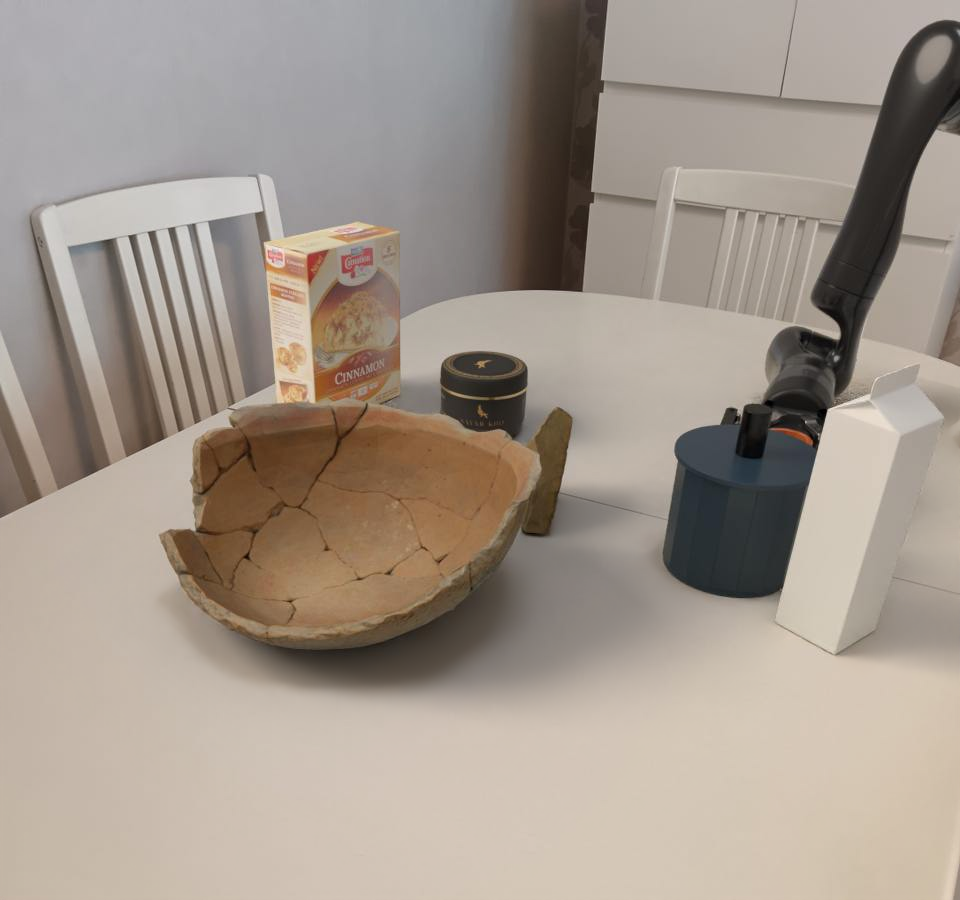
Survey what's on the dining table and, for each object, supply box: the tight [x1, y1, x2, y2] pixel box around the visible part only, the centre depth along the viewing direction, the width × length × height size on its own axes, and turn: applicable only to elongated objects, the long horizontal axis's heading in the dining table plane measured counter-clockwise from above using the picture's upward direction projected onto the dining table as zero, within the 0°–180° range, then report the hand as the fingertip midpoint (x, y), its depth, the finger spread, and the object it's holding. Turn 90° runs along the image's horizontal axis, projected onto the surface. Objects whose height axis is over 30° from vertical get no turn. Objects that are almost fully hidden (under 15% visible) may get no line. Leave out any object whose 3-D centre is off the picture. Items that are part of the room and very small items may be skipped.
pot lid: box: [673, 403, 817, 491], centre depth 82 cm, size 13×13×5 cm
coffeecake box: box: [263, 221, 402, 405], centre depth 112 cm, size 15×7×20 cm, turn 143°
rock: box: [521, 406, 574, 535], centre depth 95 cm, size 11×9×10 cm
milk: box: [774, 362, 945, 656], centre depth 75 cm, size 6×6×22 cm
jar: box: [439, 350, 529, 438], centre depth 111 cm, size 10×10×8 cm
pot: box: [662, 460, 809, 598], centre depth 86 cm, size 12×12×10 cm
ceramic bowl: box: [158, 398, 541, 651], centre depth 80 cm, size 30×27×15 cm
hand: (779, 467), depth 93 cm, fingers open, 7 cm apart
